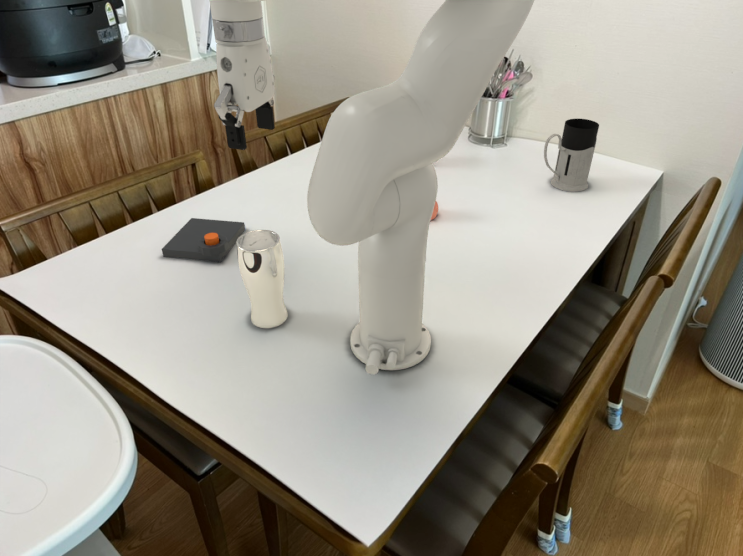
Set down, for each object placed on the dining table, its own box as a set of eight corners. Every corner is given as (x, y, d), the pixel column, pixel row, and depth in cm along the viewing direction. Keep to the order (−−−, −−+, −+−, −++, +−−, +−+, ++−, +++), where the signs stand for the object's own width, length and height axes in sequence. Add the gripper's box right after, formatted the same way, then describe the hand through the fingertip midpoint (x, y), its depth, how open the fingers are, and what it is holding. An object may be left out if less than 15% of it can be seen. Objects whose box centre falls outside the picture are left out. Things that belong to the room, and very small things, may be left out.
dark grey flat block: (222, 265, 104) (219, 249, 102) (161, 259, 106) (157, 243, 104) (248, 230, 115) (246, 215, 113) (193, 225, 117) (189, 211, 115)
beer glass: (250, 333, 87) (236, 255, 79) (246, 308, 93) (233, 232, 84) (293, 326, 89) (284, 248, 80) (287, 301, 94) (278, 226, 86)
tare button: (216, 246, 104) (214, 239, 103) (203, 245, 104) (201, 238, 103) (221, 239, 106) (220, 233, 105) (209, 238, 106) (207, 231, 105)
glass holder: (595, 187, 131) (610, 126, 123) (549, 199, 126) (561, 136, 118) (570, 174, 138) (582, 115, 129) (525, 184, 133) (535, 124, 124)
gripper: (230, 44, 75) (246, 160, 85) (286, 22, 89) (294, 124, 98) (184, 40, 77) (205, 153, 87) (246, 18, 90) (257, 119, 100)
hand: (252, 138), depth 93 cm, fingers open, 9 cm apart
